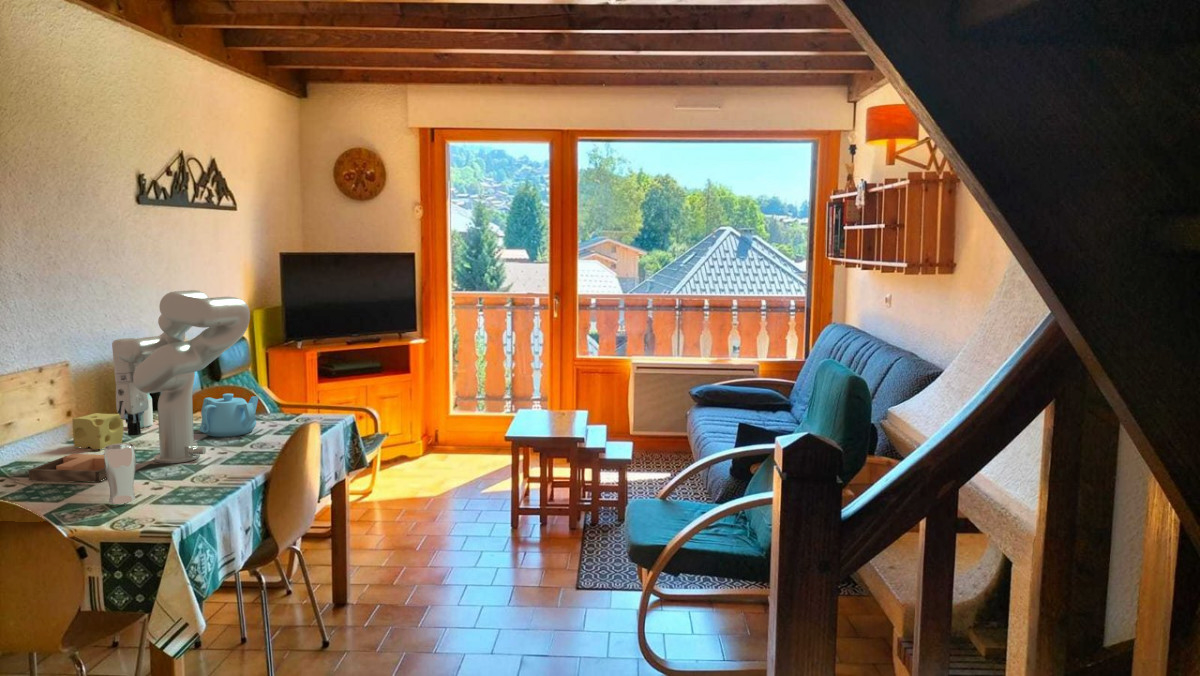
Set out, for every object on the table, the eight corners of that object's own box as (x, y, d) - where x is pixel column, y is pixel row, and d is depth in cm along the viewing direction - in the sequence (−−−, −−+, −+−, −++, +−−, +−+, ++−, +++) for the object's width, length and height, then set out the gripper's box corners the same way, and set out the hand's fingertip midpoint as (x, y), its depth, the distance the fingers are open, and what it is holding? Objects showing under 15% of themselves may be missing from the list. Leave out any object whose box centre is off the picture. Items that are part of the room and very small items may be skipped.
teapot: (253, 436, 286) (252, 397, 284) (193, 440, 280) (191, 399, 279) (259, 425, 304) (258, 388, 302) (202, 428, 298) (201, 390, 297)
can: (131, 425, 300) (130, 392, 299) (153, 423, 303) (152, 391, 302) (130, 429, 294) (128, 396, 292) (152, 427, 297) (150, 394, 295)
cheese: (100, 450, 264) (98, 420, 263) (71, 448, 267) (69, 418, 265) (124, 443, 275) (123, 413, 273) (97, 440, 277) (95, 411, 276)
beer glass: (143, 498, 216) (140, 442, 215) (128, 507, 210) (125, 449, 208) (116, 498, 216) (112, 442, 214) (100, 507, 209) (97, 449, 208)
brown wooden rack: (132, 467, 246) (131, 457, 245) (99, 482, 230) (98, 471, 230) (66, 465, 246) (65, 455, 246) (29, 480, 231) (28, 470, 230)
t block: (118, 468, 244) (117, 455, 244) (88, 480, 231) (87, 467, 231) (73, 466, 245) (72, 453, 245) (41, 479, 232) (40, 465, 232)
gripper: (126, 380, 252) (132, 439, 253) (154, 373, 267) (159, 429, 268) (102, 381, 252) (108, 440, 254) (131, 374, 267) (136, 430, 269)
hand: (134, 434), depth 261 cm, fingers closed
